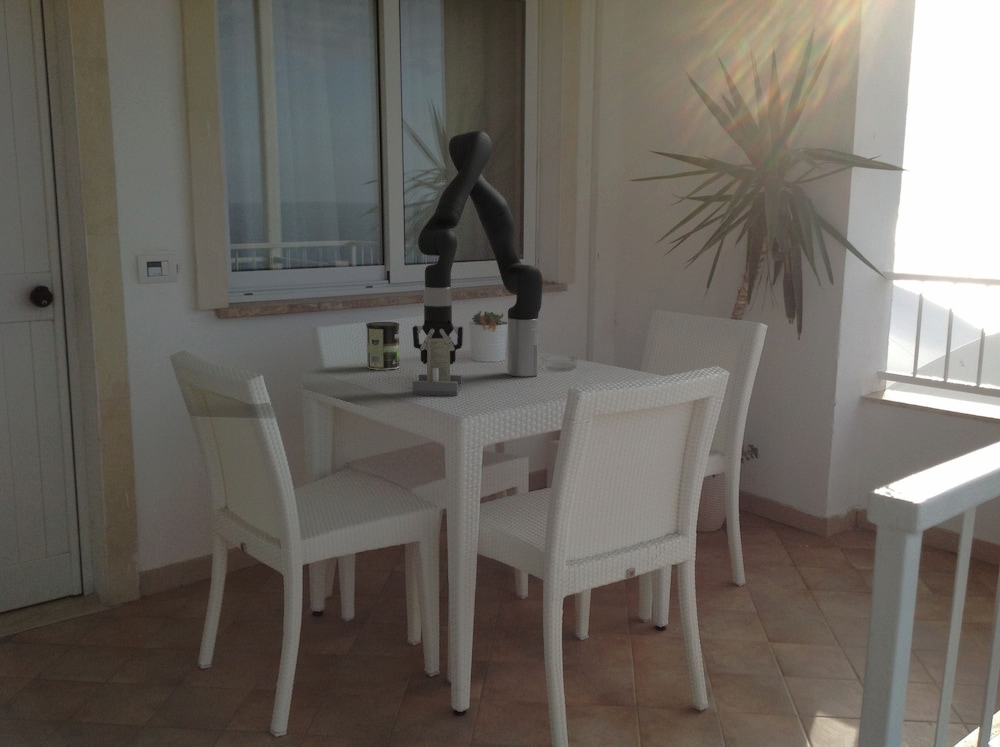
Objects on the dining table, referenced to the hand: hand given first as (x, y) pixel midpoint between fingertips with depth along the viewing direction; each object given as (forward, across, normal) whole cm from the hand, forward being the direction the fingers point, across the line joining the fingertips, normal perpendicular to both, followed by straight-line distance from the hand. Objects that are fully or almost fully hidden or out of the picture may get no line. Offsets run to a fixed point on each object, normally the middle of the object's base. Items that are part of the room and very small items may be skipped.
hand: (438, 363), depth 259 cm
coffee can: (+8, +22, -35) cm, 42 cm away
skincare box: (+5, 0, 0) cm, 5 cm away
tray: (+8, 0, 0) cm, 8 cm away
